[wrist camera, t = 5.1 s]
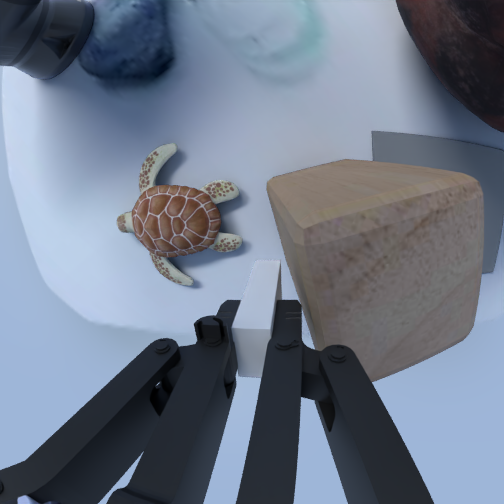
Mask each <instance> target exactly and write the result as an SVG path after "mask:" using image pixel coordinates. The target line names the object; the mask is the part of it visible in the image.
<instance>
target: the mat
mask: <svg viewBox="0 0 504 504" xmlns="http://www.w3.org/2000/svg"><path fill="white" fill-rule="evenodd" d="M372 147H373V161H377V162H388V163H397V164H406V165H414V166H422V167H429V168H436V169H442V170H448V171H454V172H460V173H464V174H467V175H469V176H471V177H473V178H475V179H476V180H477V181H479V183H480V186H481V189H482V192H483V199H484V248H483V263H482V273H490V272H493V270H494V266H495V262H496V258H497V253H498V248H499V243H500V238H501V232H502V225H503V218H504V151H503V150H499V149H495V148H491V147H487V146H482V145H477V144H473V143H468V142H462V141H457V140H451V139H445V138H438V137H431V136H423V135H415V134H405V133H394V132H381V131H372Z"/></svg>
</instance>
